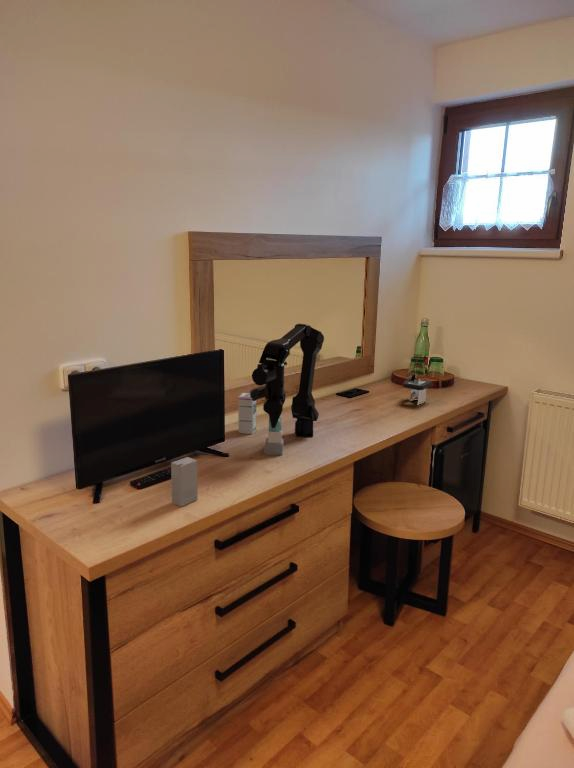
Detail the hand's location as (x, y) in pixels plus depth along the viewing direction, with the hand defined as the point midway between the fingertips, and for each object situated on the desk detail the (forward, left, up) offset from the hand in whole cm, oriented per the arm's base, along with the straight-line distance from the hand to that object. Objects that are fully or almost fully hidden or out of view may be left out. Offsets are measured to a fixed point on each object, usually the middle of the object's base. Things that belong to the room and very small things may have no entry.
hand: (274, 423), depth 199 cm
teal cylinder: (0, 0, -2) cm, 2 cm away
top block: (0, 0, -6) cm, 6 cm away
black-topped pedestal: (-59, -72, -10) cm, 94 cm away
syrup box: (+12, -20, -10) cm, 25 cm away
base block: (0, 0, -10) cm, 10 cm away
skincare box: (+21, +43, -10) cm, 49 cm away
